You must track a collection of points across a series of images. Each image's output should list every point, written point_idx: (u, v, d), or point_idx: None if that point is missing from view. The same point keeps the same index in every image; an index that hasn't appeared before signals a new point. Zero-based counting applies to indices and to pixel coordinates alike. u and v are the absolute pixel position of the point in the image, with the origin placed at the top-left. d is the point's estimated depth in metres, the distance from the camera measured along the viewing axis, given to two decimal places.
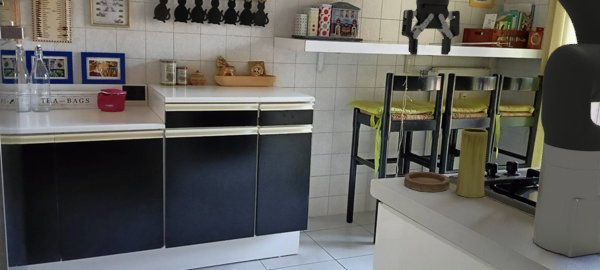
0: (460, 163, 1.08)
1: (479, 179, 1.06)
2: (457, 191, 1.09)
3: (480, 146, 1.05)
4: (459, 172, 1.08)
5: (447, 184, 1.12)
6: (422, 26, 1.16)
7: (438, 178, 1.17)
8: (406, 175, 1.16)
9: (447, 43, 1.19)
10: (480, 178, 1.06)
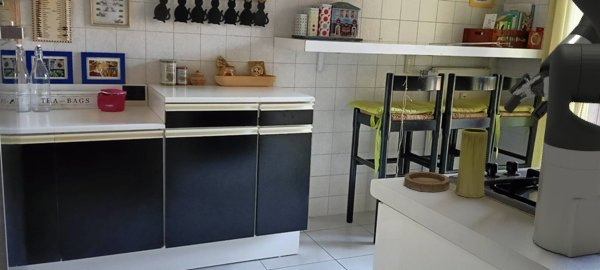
0: (460, 163, 1.08)
1: (479, 179, 1.06)
2: (457, 191, 1.09)
3: (480, 146, 1.05)
4: (459, 172, 1.08)
5: (447, 184, 1.12)
6: (524, 84, 1.12)
7: (438, 178, 1.17)
8: (406, 175, 1.16)
9: (539, 104, 1.05)
10: (480, 178, 1.06)
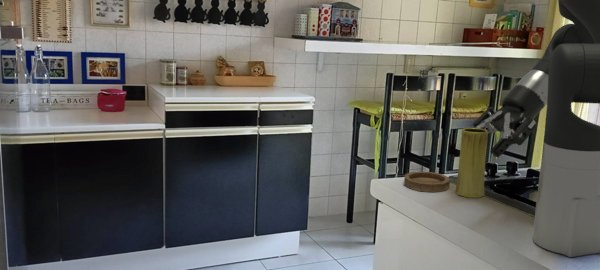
0: (460, 163, 1.08)
1: (479, 179, 1.06)
2: (457, 191, 1.09)
3: (480, 146, 1.05)
4: (459, 172, 1.08)
5: (447, 184, 1.12)
6: (487, 119, 1.11)
7: (438, 178, 1.17)
8: (406, 175, 1.16)
9: (499, 141, 1.04)
10: (480, 178, 1.06)
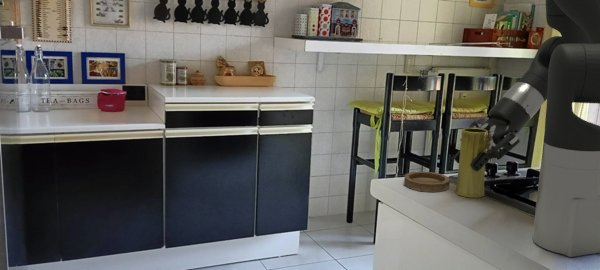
0: (460, 163, 1.08)
1: (479, 179, 1.06)
2: (457, 191, 1.09)
3: (480, 146, 1.05)
4: (459, 172, 1.08)
5: (447, 184, 1.12)
6: None
7: (438, 178, 1.17)
8: (406, 175, 1.16)
9: (478, 155, 1.05)
10: (480, 178, 1.06)
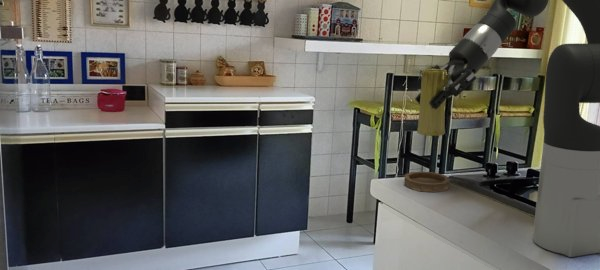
0: (421, 103, 1.11)
1: (438, 117, 1.09)
2: (418, 130, 1.12)
3: (439, 84, 1.08)
4: (420, 112, 1.11)
5: (447, 184, 1.12)
6: None
7: (438, 178, 1.17)
8: (406, 175, 1.16)
9: (437, 93, 1.08)
10: (439, 116, 1.09)
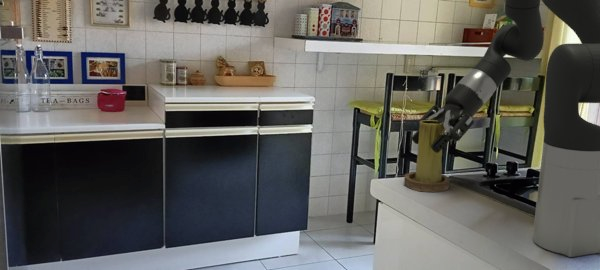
0: (418, 153, 1.13)
1: (435, 169, 1.12)
2: (416, 180, 1.14)
3: (436, 137, 1.10)
4: (417, 162, 1.14)
5: (447, 184, 1.12)
6: (430, 117, 1.16)
7: None
8: (406, 175, 1.16)
9: (438, 137, 1.09)
10: (437, 167, 1.12)
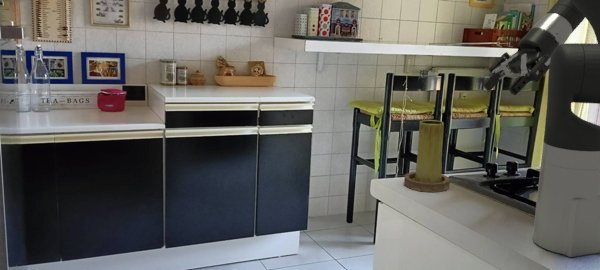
0: (418, 153, 1.13)
1: (435, 169, 1.12)
2: (416, 180, 1.14)
3: (436, 137, 1.10)
4: (417, 162, 1.14)
5: (447, 184, 1.12)
6: (503, 62, 1.14)
7: None
8: (406, 175, 1.16)
9: (516, 79, 1.07)
10: (437, 167, 1.12)
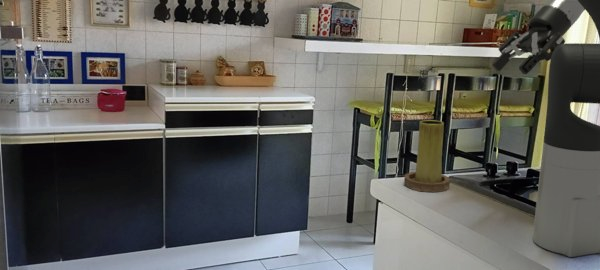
0: (418, 153, 1.13)
1: (435, 169, 1.12)
2: (416, 180, 1.14)
3: (436, 137, 1.10)
4: (417, 162, 1.14)
5: (447, 184, 1.12)
6: (513, 42, 1.12)
7: None
8: (406, 175, 1.16)
9: (527, 58, 1.05)
10: (437, 168, 1.12)
